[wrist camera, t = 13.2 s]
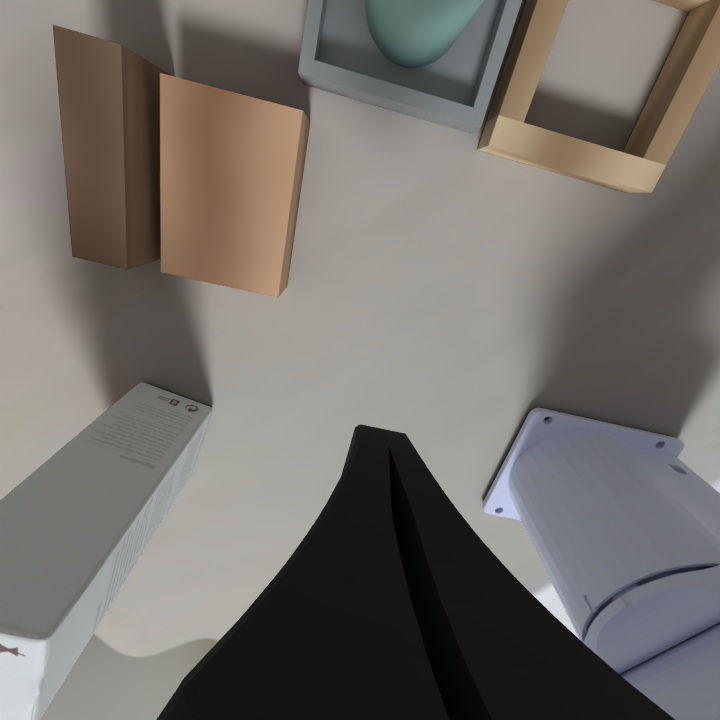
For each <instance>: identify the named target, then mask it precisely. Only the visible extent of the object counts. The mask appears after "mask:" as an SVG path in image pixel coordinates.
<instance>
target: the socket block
mask: <svg viewBox="0 0 720 720" xmlns="http://www.w3.org/2000/svg"><path fill="white" fill-rule="evenodd" d="M655 1H658V2H661V3H663V4H666V5H669V6H672V7H675V8H678V9H681V10H684V11H687V12H689V14H688V16H687V18H686V20H685V22H684V24H683V26H682V29H681V31H680V33H679V35H678V37H677V39H676V41H675V43H674V45H673V47H672V50H671V52H670V54H669V56H668V58H667V60H666V62H665V64H664V66H663V69H662V71H661V73H660V75H659V77H658V79H657V81H656V83H655V85H654V88H653V90H652V92H651V94H650V96H649V98H648V100H647V102H646V104H645V106H644V109H643V111H642V113H641V115H640V117H639V119H638V121H637V123H636V125H635V128H634V130H633V132H632V134H631V136H630V138H629V140H628V142H627V144H626V147H625V149H624V151H623V152H620V151H617V150H614V149H610V148H607V147H604V146H600V145H597V144H594V143H590V142H587V141H584V140H580V139H577V138H574V137H570V136H567V135H564V134H560V133H557V132H553V131H550V130H547V129H543V128H540V127H537V126H533V125H530V124H527V123H524V120H525V118H526V115H527V112H528V109H529V107H530V104H531V101H532V98H533V96H534V93H535V90H536V87H537V85H538V82H539V79H540V76H541V74H542V71H543V68H544V65H545V63H546V60H547V57H548V54H549V52H550V49H551V46H552V43H553V41H554V38H555V35H556V33H557V30H558V27H559V24H560V22H561V19H562V16H563V13H564V11H565V8H566V5H567V2H568V0H526V3H525V6H524V9H523V12H522V15H521V18H520V21H519V24H518V27H517V30H516V33H515V36H514V39H513V42H512V45H511V48H510V51H509V54H508V57H507V61H506V64H505V67H504V70H503V73H502V76H501V79H500V82H499V85H498V88H497V91H496V94H495V97H494V100H493V103H492V106H491V109H490V112H489V115H488V118H487V121H486V125H485V128H484V131H483V134H482V137H481V140H480V143H479V146H478V149H477V150H480V151H484V152H487V153H491V154H494V155H497V156H501V157H504V158H508V159H511V160H515V161H518V162H522V163H525V164H529V165H532V166H536V167H539V168H543V169H546V170H550V171H553V172H556V173H560V174H563V175H567V176H570V177H574V178H577V179H581V180H584V181H588V182H591V183H595V184H598V185H602V186H605V187H609V188H612V189H616V190H619V191H622V192H626V193H652V191H653V189H654V188H655V186H656V184H657V182H658V180H659V178H660V176H661V174H662V172H663V170H664V168H665V167H666V165H667V163H668V161H669V159H670V157H671V155H672V153H673V151H674V149H675V147H676V146H677V144H678V142H679V140H680V138H681V136H682V134H683V132H684V130H685V128H686V127H687V125H688V123H689V121H690V119H691V117H692V115H693V113H694V111H695V109H696V107H697V106H698V104H699V102H700V100H701V98H702V96H703V94H704V92H705V90H706V88H707V87H708V85H709V83H710V81H711V79H712V77H713V75H714V73H715V71H716V69H717V67H718V66H719V64H720V0H655Z"/></svg>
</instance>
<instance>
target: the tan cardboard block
mask: <svg viewBox="0 0 720 720" xmlns="http://www.w3.org/2000/svg"><path fill="white" fill-rule="evenodd" d="M309 128H310V120H309V119H308V117H307V116H306V114H305V113H304V111H303V110H299V109H295V108H291V107H288V106H284V105H280V104H276V103H272V102H269V101H265V100H261V99H257V98H254V97H250V96H246V95H242V94H238V93H235V92H231V91H227V90H223V89H219V88H216V87H212V86H208V85H204V84H200V83H197V82H193V81H189V80H185V79H181V78H178V77H174V76H170V75H166V74H162V73H160V201H161V272H162V273H167V274H171V275H176V276H181V277H185V278H190V279H194V280H199V281H204V282H208V283H213V284H218V285H222V286H227V287H232V288H236V289H241V290H246V291H250V292H255V293H259V294H264V295H269V296H273V297H279V296H280V295H281V293H282V292H283V291H284V290H285V288H286V287H287V284H288V277H289V270H290V263H291V256H292V249H293V242H294V235H295V228H296V220H297V213H298V206H299V199H300V192H301V185H302V178H303V171H304V164H305V157H306V150H307V142H308V135H309Z"/></svg>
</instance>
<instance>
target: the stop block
mask: <svg viewBox="0 0 720 720" xmlns="http://www.w3.org/2000/svg"><path fill="white" fill-rule="evenodd" d="M53 34H54V45H55V57H56V69H57V80H58V92H59V104H60V116H61V127H62V139H63V151H64V162H65V174H66V186H67V198H68V209H69V221H70V233H71V244H72V256H73V257H77V258H81V259H85V260H90V261H94V262H98V263H103V264H107V265H111V266H115V267H120V268H124V269H129V268H132V267H135V266H138V265H142V264H145V263H148V262H151V261H154V260H157V259H161V201H160V73H162V74H166V75H169V74H167V73H166V72H164V71H163V70H161V69H159V68H158V67H156V66H155V65H153V64H151V63H150V62H148V61H147V60H145V59H143V58H142V57H140V56H139V55H137V54H135V53H134V52H132V51H131V50H129V49H127V48H126V47H124V46H123V45H121V44H117V43H114V42H110V41H107V40H104V39H100V38H97V37H93V36H90V35H86V34H83V33H79V32H76V31H72V30H69V29H65V28H62V27H59V26H55V25H53ZM170 76H171V75H170Z"/></svg>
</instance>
